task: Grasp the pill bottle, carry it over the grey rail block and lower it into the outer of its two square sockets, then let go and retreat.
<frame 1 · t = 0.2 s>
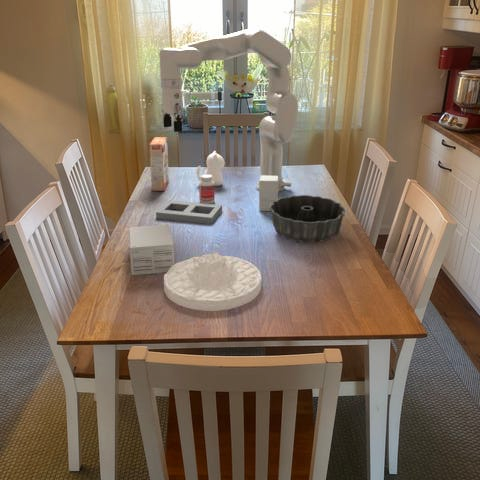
hand: (172, 129, 204), 30 cm above the table, tool pointing down, fingers open, 9 cm apart
supplement box: (268, 208, 211), on the table
pill bottle: (207, 202, 218), on the table
supplement box 2: (152, 262, 166), on the table
cracker box: (160, 186, 236), on the table
bundt pan: (305, 234, 188), on the table
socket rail: (189, 214, 204), on the table
cat figurine: (211, 185, 238), on the table
cake: (212, 287, 152), on the table
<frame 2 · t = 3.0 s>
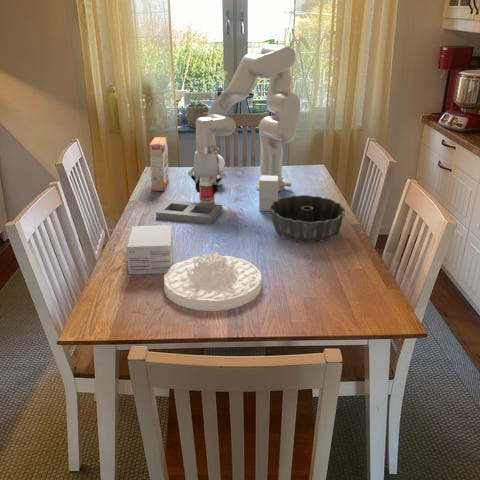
hand: (206, 191, 216), 4 cm above the table, tool pointing down, fingers closed on pill bottle, 6 cm apart
pill bottle: (207, 202, 218), on the table, touching gripper
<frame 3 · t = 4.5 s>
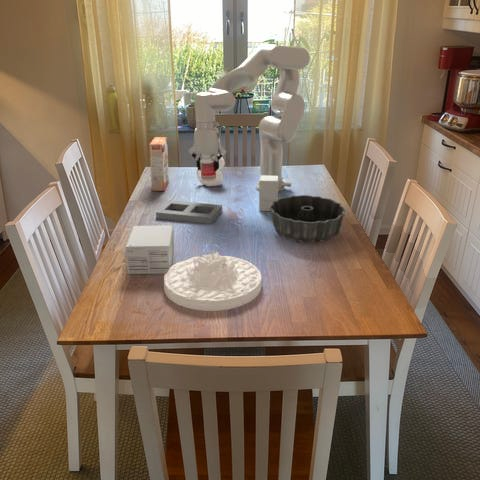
hand: (208, 169, 212), 14 cm above the table, tool pointing down, fingers closed on pill bottle, 6 cm apart
pill bottle: (208, 180, 214), point 9 cm above the table, touching gripper
everything else where it was.
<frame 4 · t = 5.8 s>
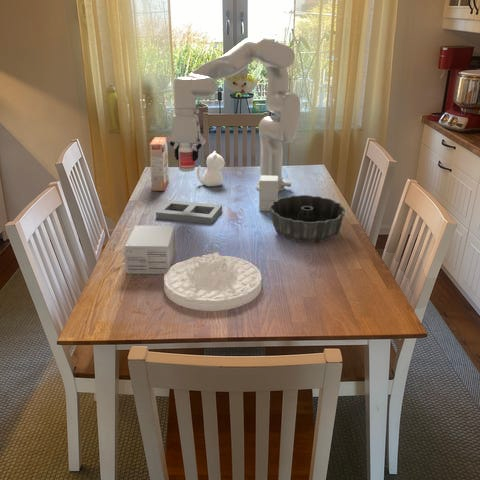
hand: (186, 159, 201), 20 cm above the table, tool pointing down, fingers closed on pill bottle, 6 cm apart
pill bottle: (186, 170, 203), point 16 cm above the table, touching gripper
everything else where it was.
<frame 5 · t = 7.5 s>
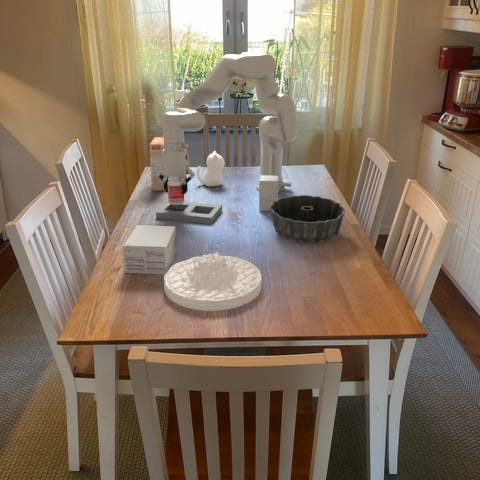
hand: (175, 192, 201), 9 cm above the table, tool pointing down, fingers closed on pill bottle, 6 cm apart
pill bottle: (176, 203, 203), point 4 cm above the table, touching gripper
when the fingers open (5 cm above the table, at t = 9.0 s): pill bottle stays where it is, resting in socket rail.
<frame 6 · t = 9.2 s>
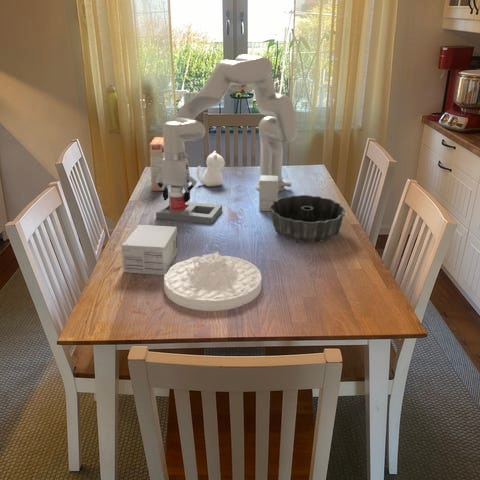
hand: (176, 200, 203), 6 cm above the table, tool pointing down, fingers open, 8 cm apart
pill bottle: (177, 213, 205), resting in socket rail
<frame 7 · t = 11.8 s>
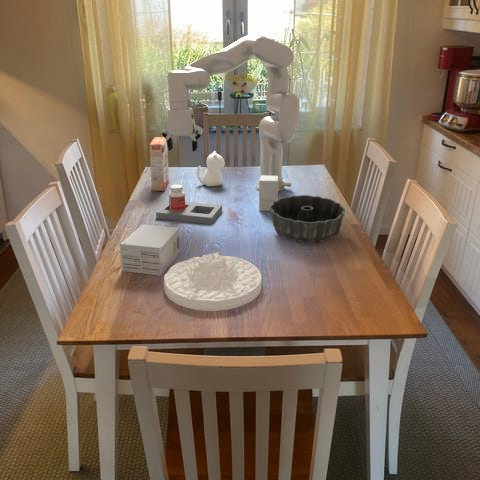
hand: (182, 150, 203), 23 cm above the table, tool pointing down, fingers open, 9 cm apart
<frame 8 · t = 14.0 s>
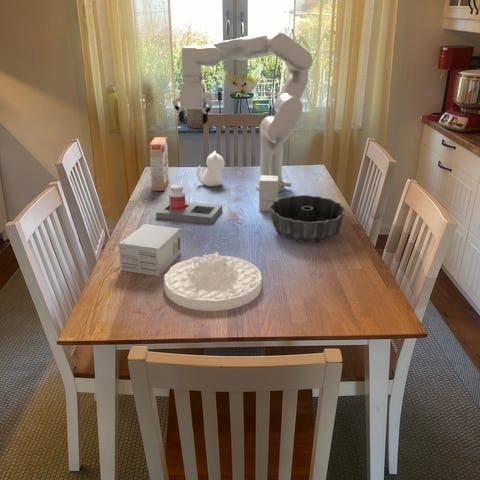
hand: (193, 122, 215), 30 cm above the table, tool pointing down, fingers open, 9 cm apart
at the end: pill bottle 0.3 cm from the target spot on the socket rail, point 0.0 cm above the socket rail's base; pill bottle tilted 0°; the gripper is holding nothing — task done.
